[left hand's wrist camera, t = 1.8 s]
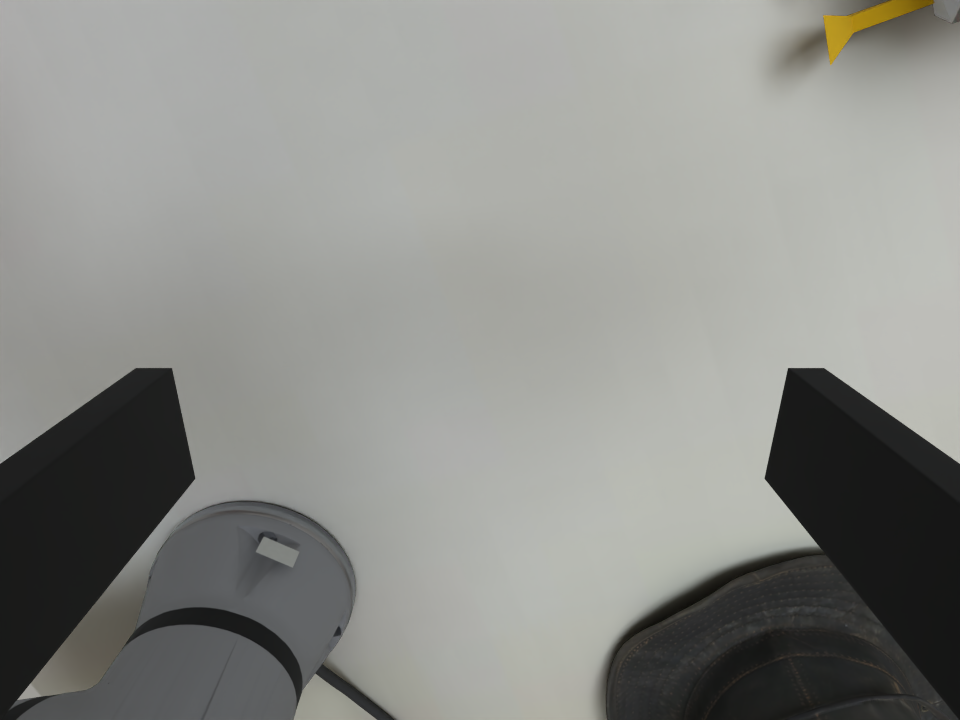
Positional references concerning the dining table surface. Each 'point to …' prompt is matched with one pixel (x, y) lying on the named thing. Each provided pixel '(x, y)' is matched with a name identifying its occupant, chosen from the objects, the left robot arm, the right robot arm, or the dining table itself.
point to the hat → (772, 656)
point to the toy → (881, 19)
